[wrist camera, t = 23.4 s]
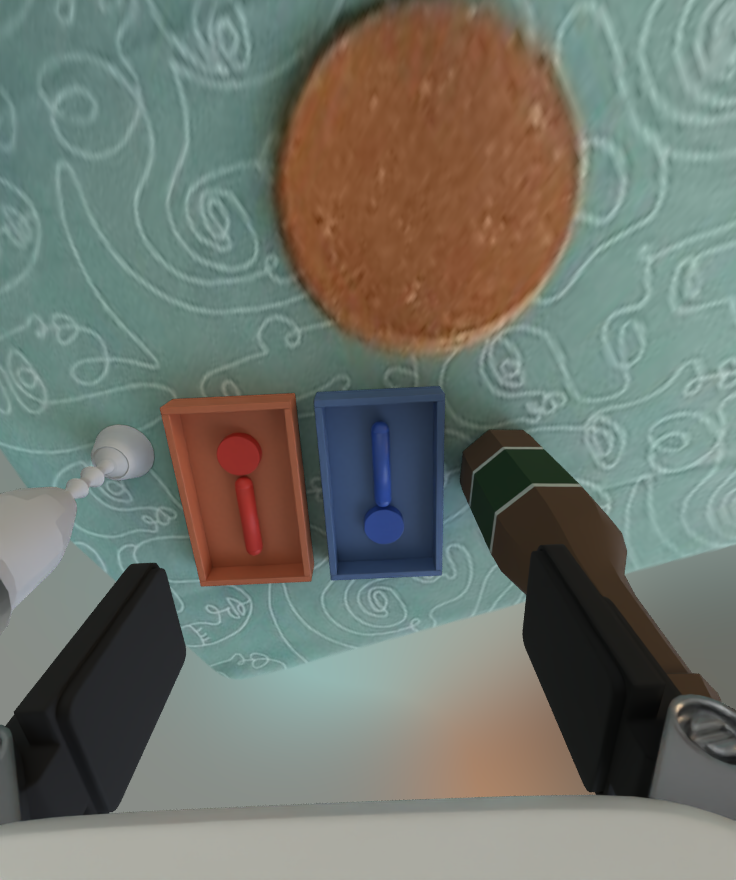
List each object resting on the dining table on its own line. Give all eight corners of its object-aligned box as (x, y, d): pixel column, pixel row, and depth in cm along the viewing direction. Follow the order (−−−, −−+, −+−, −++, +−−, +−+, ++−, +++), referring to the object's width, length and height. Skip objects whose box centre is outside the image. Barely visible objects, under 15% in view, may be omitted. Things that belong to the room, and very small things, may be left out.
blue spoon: (358, 419, 37) (357, 425, 35) (401, 417, 36) (402, 423, 35) (365, 538, 41) (365, 548, 39) (403, 537, 41) (405, 546, 39)
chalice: (120, 396, 36) (-89, 507, 19) (182, 455, 38) (41, 601, 21) (65, 449, 38) (-171, 593, 21) (128, 502, 40) (-43, 672, 23)
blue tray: (316, 391, 36) (313, 400, 34) (439, 385, 36) (445, 393, 34) (332, 563, 42) (330, 580, 40) (437, 558, 42) (442, 575, 40)
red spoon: (276, 548, 41) (273, 557, 40) (238, 549, 41) (233, 559, 40) (259, 431, 37) (254, 437, 35) (216, 433, 37) (210, 439, 35)
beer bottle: (470, 515, 41) (602, 816, 18) (444, 442, 38) (561, 692, 16) (552, 486, 40) (798, 769, 17) (531, 410, 37) (791, 627, 15)
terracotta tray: (172, 398, 36) (159, 407, 34) (294, 392, 36) (290, 401, 34) (209, 569, 42) (200, 586, 40) (314, 564, 42) (311, 581, 40)
